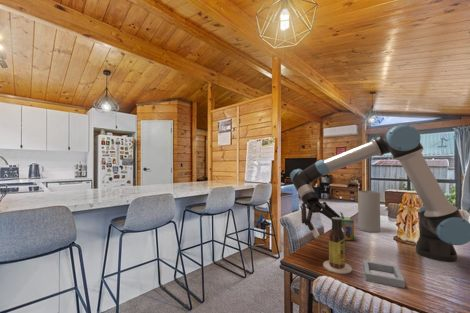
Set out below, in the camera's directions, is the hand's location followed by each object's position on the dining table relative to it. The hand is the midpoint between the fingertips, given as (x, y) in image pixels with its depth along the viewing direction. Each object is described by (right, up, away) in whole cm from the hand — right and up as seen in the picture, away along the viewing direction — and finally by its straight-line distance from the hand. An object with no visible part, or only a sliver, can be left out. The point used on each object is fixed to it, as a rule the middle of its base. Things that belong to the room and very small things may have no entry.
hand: (330, 235), depth 100 cm
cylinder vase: (+47, -14, +51) cm, 70 cm away
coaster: (+1, -12, -4) cm, 13 cm away
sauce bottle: (+1, -12, -4) cm, 12 cm away
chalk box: (+22, -14, +35) cm, 43 cm away
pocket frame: (+16, -12, -11) cm, 23 cm away
